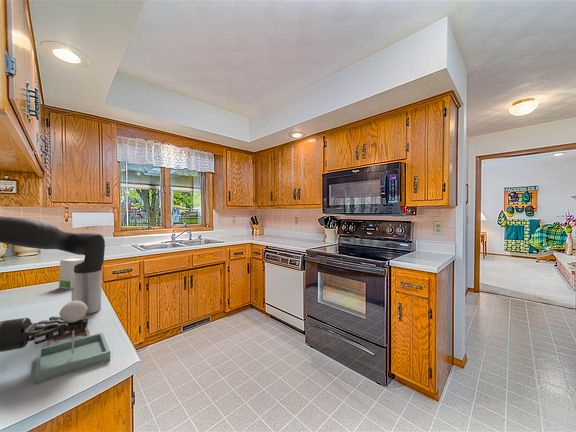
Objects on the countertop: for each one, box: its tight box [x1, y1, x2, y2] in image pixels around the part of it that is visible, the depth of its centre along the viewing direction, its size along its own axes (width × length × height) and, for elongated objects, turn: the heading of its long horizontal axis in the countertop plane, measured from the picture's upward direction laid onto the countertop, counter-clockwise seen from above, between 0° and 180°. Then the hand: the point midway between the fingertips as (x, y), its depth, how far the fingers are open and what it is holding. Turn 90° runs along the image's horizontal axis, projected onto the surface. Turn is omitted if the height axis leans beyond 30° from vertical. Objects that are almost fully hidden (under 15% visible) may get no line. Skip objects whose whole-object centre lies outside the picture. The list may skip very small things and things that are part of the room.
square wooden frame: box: [49, 325, 91, 346], centre depth 81 cm, size 10×10×2 cm
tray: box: [34, 332, 111, 385], centre depth 71 cm, size 15×15×2 cm
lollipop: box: [58, 300, 88, 354], centre depth 71 cm, size 6×6×15 cm
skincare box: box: [58, 257, 84, 290], centre depth 139 cm, size 8×7×16 cm
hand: (86, 323), depth 73 cm, fingers closed on lollipop, 1 cm apart
